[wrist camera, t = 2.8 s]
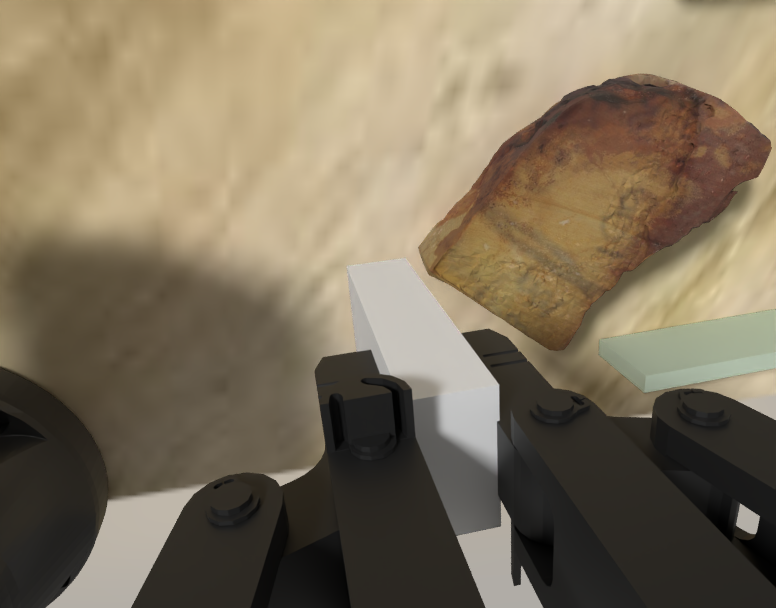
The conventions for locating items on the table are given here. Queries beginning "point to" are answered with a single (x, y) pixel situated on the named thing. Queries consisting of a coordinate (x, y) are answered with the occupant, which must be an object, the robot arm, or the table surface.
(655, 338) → the mint green u-channel
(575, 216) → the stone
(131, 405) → the table surface
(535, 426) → the robot arm
